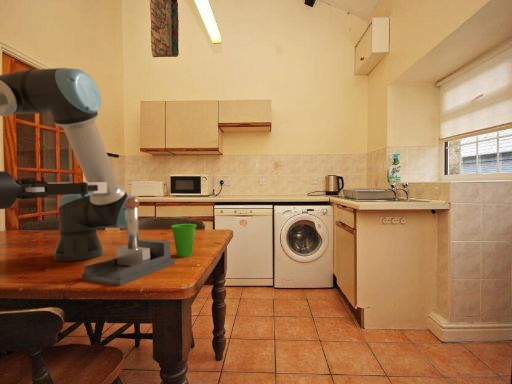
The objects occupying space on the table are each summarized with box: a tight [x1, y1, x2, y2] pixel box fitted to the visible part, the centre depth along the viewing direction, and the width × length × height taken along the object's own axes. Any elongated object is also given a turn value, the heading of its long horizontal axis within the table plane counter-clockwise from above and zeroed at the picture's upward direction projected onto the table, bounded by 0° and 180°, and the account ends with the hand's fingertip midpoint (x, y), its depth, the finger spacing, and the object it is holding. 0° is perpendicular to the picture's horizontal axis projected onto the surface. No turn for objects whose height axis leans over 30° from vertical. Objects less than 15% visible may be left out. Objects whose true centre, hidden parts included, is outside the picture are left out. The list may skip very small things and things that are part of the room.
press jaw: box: [116, 196, 150, 266], centre depth 85 cm, size 4×10×20 cm, turn 68°
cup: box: [170, 223, 197, 258], centre depth 102 cm, size 9×9×11 cm
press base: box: [81, 238, 176, 287], centre depth 84 cm, size 22×14×8 cm, turn 158°
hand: (86, 187), depth 73 cm, fingers open, 13 cm apart
